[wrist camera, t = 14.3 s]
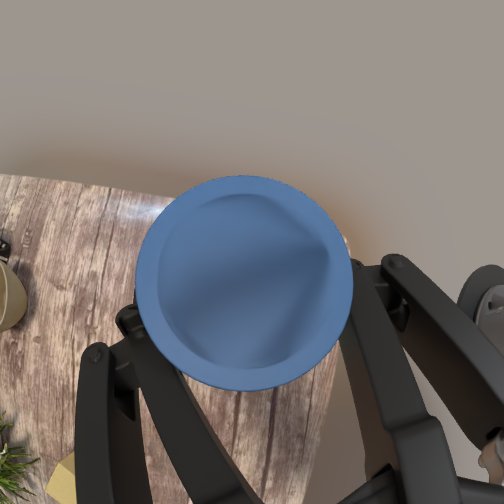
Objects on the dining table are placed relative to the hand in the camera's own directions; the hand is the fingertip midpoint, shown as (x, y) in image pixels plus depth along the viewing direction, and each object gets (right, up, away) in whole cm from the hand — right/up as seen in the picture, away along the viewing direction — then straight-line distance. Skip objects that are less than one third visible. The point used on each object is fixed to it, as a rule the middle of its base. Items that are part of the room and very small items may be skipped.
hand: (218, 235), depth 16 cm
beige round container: (-31, -8, +13) cm, 35 cm away
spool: (+1, -4, +1) cm, 4 cm away
